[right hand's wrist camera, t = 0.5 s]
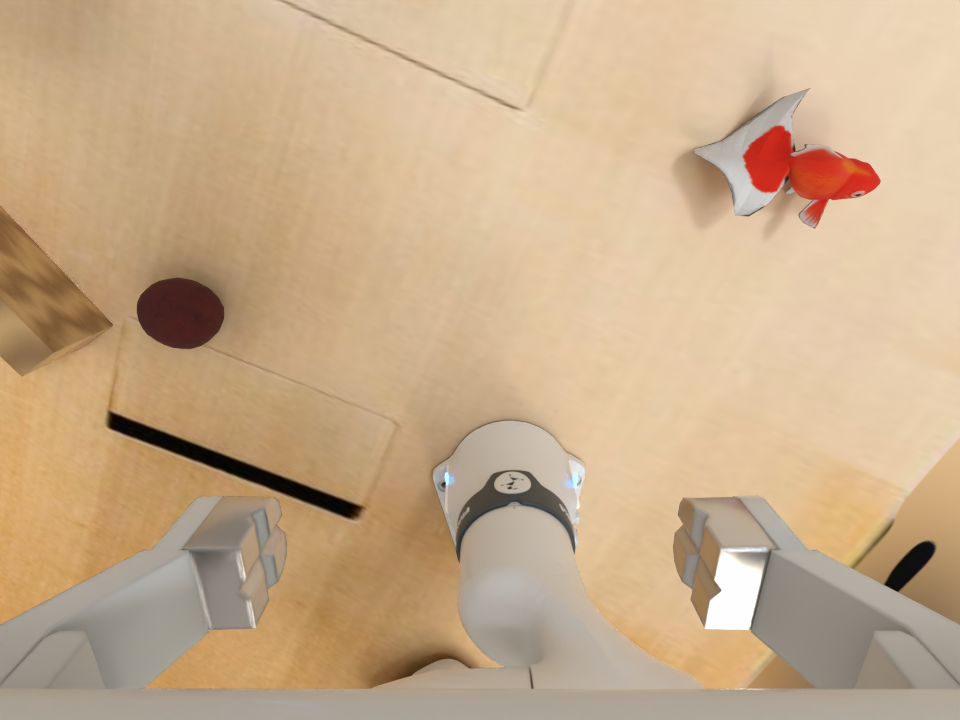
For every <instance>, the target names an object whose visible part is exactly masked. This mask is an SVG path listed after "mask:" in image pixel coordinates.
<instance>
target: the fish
mask: <svg viewBox="0 0 960 720" xmlns="http://www.w3.org/2000/svg"><path fill="white" fill-rule="evenodd" d="M809 89H810V88H809ZM809 89H806V90H803V91H800V92H797V93H794V94H791V95H789V96H786V97H783V98H781V99H779V100H778V101H776V102H775V103H773V104H772V105H770V106H769V107H767V108H766V109H764V110H763V111H761V112H760V113H758V114H757V115H755V116H754V117H753V118H751V119H750V120H749V121H748V122H746V123H745V124H744V125H743V126H741V127H740V128H739V129H737V130H736V131H735V132H733V133H732V134H730V135H729V136H728V137H726V138H725V139H723V140H722V141H719V142H716V143H713V144H710V145H707V146H704V147H699V148H695V149H693V153H694V154H696V155H698V156H700V157H702V158H704V159H705V160H707V161H708V162H710V163H712V164H713V165H715V166H716V167H718V168H719V169H720V170H721V171H722V173H723V174H724V176H725V177H726V179H727V181H728V184H729V187H730V189H731V192H732V198H733V204H734V211H735V216H750V215H752V214H753V213H755V212H757V211H758V210H760V209H761V208H763V207H764V206H765V205H767V204H768V203H769V202H770V201H771V200H772V199H773V198H774V196H775V195H776V194H777V193H778V192H779V190H780V189H781V188H782V186H783V185H784V184H785V183H786V181H787V180H788V179H789V178H790V183H791V187H790V188H789V189H788V190H787V192H786V194H792V193H795V192H796V193H797V194H798V195H799V196H801V197H803V198H806V199H810V200H813V201H811V202H810V203H809V204H808V205H807V206H806V207H805V208H804V209H803V210H802V211H801V212H800V213H799V218H800V219H801V220H802V222H803V223H805V224H807V225H809V226H811V227H813V228H815V227H816V226H817V225H818V223H819V221H820V218H821V216H822V214H823V211H824V209H825V207H826V205H827V202H828V200H829V199H832V200H838V199H847V198H856V197H860V196H863V195H865V194H867V193H869V192H871V191H872V190H874V189H875V188H876V187H877V186H878V185H879V184H880V179H879V177H878V175H877V174H876V173H875V171H874V169H873V168H872V167H871V165H870V164H868V163H866V162H862V161H859V160H857V159H851V158H847V157H845V156H844V155H842V154H840V153H838V152H835V151H833V150H832V149H831V148H830V147H828V146H823V145H811V144H806V145H805V149H803V150H800V151H796V150H795V145H794V141H793V136H792V114H793V113H794V111H795V109H796V108H797V106H798V104H799V103H800V101H801V99H802V98H803V97H804V95H805V94H806V93H807V92H808V90H809ZM795 151H796V152H795Z"/></svg>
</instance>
